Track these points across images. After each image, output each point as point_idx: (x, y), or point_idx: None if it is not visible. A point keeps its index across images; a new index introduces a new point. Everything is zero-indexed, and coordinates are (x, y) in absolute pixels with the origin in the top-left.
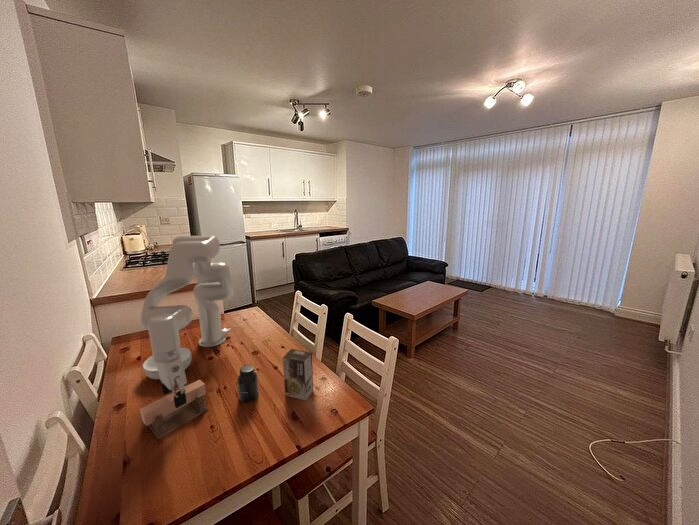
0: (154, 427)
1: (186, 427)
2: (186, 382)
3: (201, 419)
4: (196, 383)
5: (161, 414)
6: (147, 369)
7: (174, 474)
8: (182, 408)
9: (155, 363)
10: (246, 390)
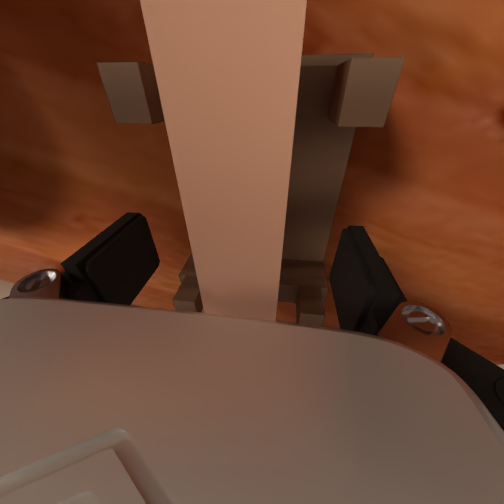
0: None
1: (364, 202)
2: (468, 388)
3: (395, 130)
4: (200, 28)
5: (302, 312)
6: None
7: (500, 304)
8: None
9: None
10: None
